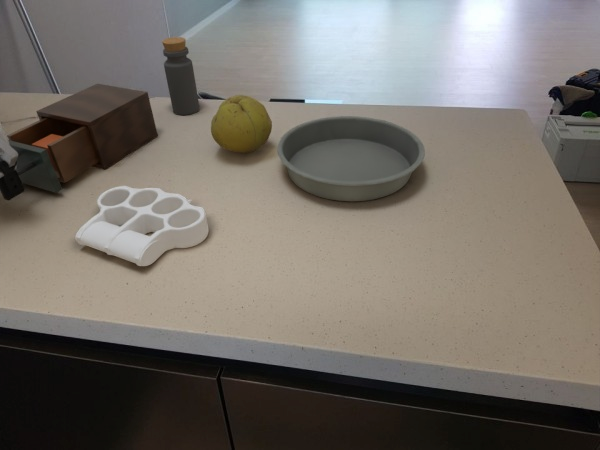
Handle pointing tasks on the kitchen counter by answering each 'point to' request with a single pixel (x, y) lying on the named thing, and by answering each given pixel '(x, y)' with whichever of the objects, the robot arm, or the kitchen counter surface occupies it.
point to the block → (45, 142)
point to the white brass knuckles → (143, 224)
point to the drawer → (52, 153)
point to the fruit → (241, 124)
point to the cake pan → (350, 157)
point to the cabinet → (108, 119)
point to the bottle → (180, 77)
